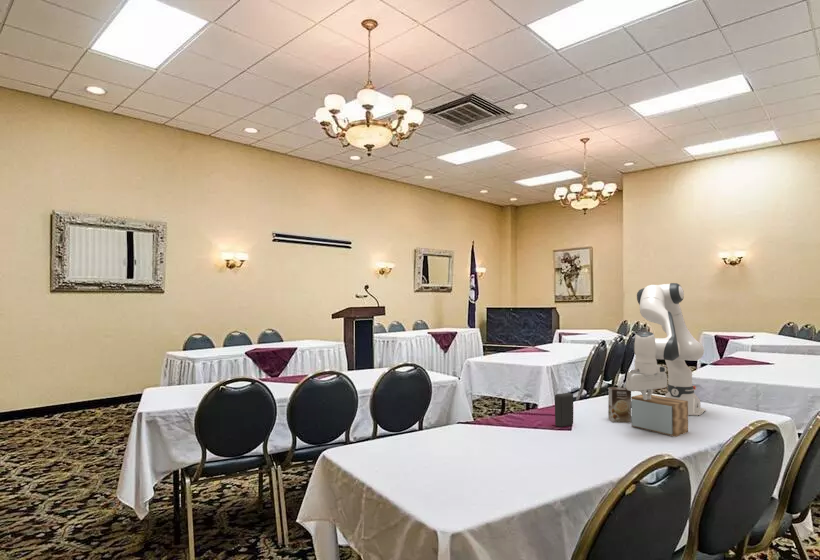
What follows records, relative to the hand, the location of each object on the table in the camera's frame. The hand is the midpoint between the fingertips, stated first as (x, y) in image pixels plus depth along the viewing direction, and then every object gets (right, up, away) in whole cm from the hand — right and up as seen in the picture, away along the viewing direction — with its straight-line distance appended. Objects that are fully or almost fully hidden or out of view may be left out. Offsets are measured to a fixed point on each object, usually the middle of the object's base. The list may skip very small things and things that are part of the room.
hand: (647, 399), depth 219 cm
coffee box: (-3, -16, +22) cm, 27 cm away
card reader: (-33, -16, +14) cm, 39 cm away
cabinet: (+9, -16, +7) cm, 20 cm away
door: (+3, -14, +4) cm, 15 cm away
